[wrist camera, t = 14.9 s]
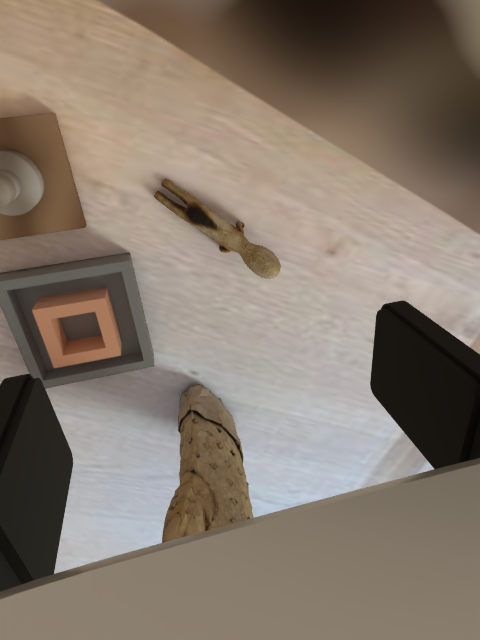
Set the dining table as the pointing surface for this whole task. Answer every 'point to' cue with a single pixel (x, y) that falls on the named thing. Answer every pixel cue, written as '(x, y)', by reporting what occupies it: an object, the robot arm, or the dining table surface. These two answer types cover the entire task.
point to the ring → (75, 304)
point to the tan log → (207, 469)
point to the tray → (77, 316)
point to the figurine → (221, 231)
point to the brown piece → (36, 179)
